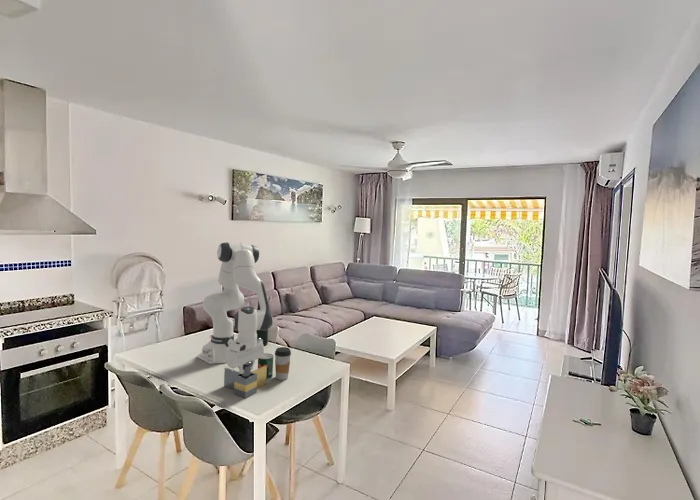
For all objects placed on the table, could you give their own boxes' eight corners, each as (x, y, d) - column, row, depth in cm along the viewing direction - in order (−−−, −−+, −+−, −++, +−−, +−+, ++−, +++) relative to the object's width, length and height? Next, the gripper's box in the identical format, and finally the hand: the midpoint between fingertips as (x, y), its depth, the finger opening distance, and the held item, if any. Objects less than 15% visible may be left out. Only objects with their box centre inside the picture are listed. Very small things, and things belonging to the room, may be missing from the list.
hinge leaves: (218, 388, 180) (219, 370, 179) (245, 376, 195) (245, 359, 194) (245, 398, 172) (246, 379, 171) (270, 385, 186) (271, 367, 186)
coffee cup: (286, 381, 191) (287, 353, 190) (271, 379, 193) (272, 351, 192) (292, 375, 200) (293, 348, 199) (277, 373, 201) (278, 346, 200)
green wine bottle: (265, 347, 242) (267, 296, 240) (249, 346, 242) (251, 295, 240) (269, 342, 252) (271, 293, 250) (254, 341, 253) (256, 292, 251)
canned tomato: (256, 379, 192) (256, 358, 192) (258, 373, 200) (259, 353, 200) (271, 379, 193) (272, 358, 192) (273, 373, 201) (274, 353, 200)
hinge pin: (237, 391, 175) (238, 361, 174) (245, 387, 180) (246, 358, 179) (245, 394, 173) (246, 364, 172) (253, 390, 177) (254, 361, 176)
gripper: (257, 335, 185) (256, 363, 186) (225, 346, 168) (224, 376, 169) (267, 338, 182) (266, 366, 183) (235, 349, 165) (234, 380, 165)
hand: (246, 371), depth 176 cm, fingers closed on hinge pin, 4 cm apart
